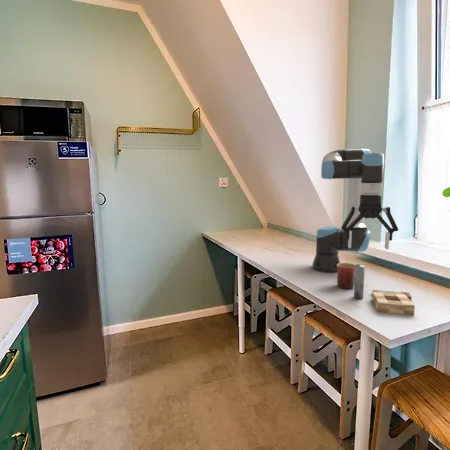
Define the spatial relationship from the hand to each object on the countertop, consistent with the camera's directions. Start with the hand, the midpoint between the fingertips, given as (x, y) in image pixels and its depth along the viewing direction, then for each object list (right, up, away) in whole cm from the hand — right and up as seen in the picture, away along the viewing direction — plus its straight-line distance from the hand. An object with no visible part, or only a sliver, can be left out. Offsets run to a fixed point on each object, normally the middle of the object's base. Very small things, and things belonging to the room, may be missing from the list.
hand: (367, 248), depth 122 cm
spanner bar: (+13, -21, +9) cm, 27 cm away
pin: (0, -22, +8) cm, 23 cm away
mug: (+1, -20, +21) cm, 29 cm away
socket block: (+9, -23, -2) cm, 24 cm away
